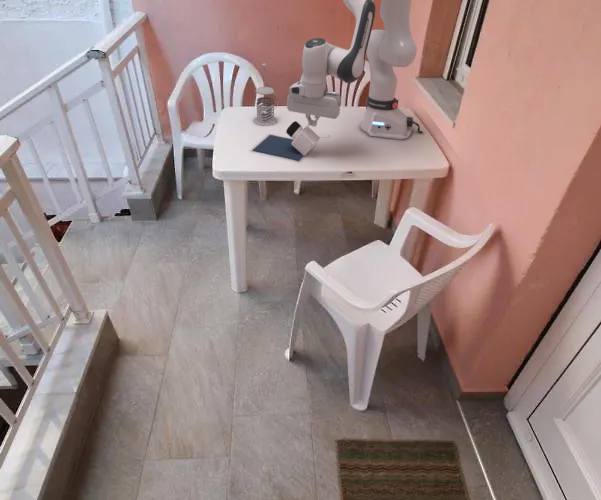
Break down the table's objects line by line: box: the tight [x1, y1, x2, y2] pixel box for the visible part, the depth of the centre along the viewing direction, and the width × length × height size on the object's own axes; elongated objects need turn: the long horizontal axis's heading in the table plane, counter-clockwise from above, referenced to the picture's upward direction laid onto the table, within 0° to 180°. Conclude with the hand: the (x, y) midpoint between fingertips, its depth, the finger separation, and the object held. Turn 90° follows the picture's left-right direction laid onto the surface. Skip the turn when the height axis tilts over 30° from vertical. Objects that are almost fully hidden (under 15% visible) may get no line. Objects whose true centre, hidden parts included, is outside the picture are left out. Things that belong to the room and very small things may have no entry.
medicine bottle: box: [285, 120, 321, 157], centre depth 162 cm, size 7×7×12 cm
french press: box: [254, 62, 279, 126], centre depth 182 cm, size 10×12×25 cm
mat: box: [252, 134, 304, 162], centre depth 169 cm, size 20×16×1 cm
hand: (312, 125), depth 158 cm, fingers closed
